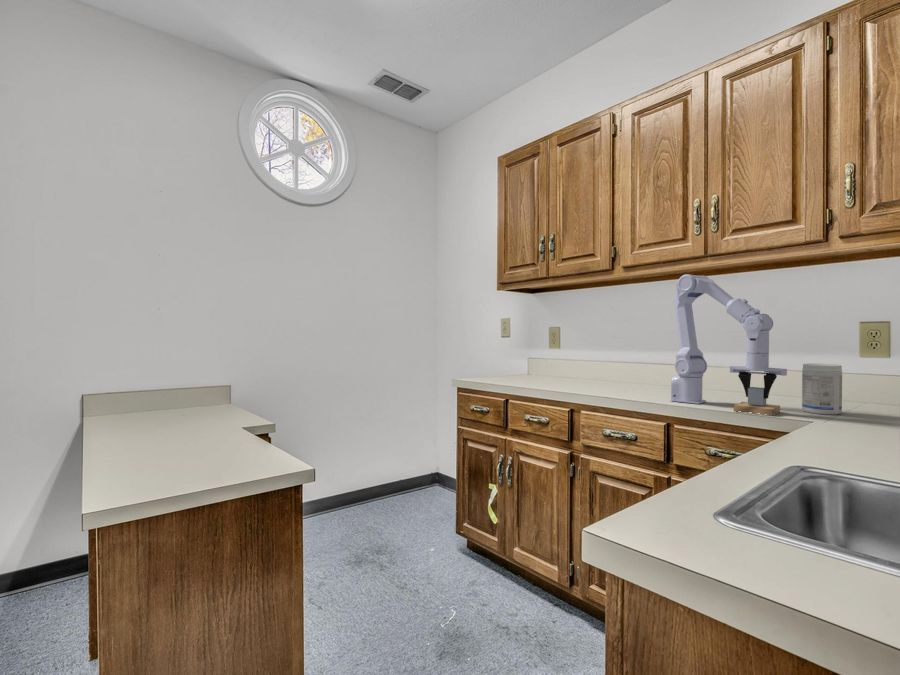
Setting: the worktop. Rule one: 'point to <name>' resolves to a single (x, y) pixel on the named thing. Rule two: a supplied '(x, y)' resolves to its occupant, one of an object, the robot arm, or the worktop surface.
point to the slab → (757, 408)
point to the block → (756, 396)
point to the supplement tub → (822, 388)
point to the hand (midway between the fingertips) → (756, 397)
